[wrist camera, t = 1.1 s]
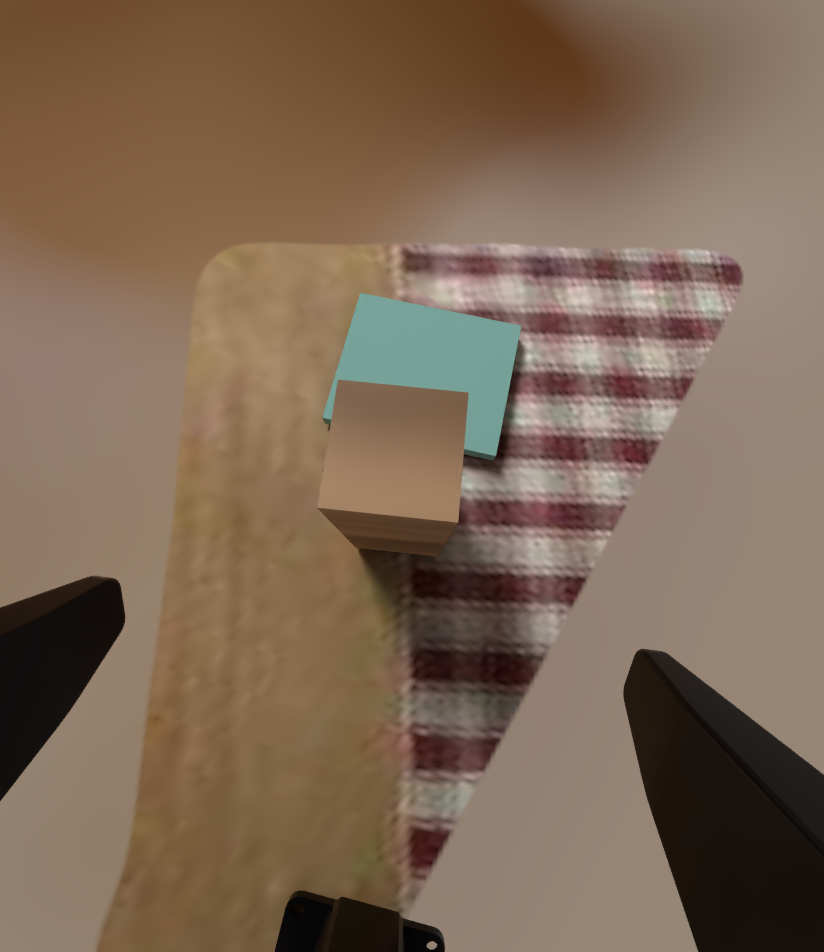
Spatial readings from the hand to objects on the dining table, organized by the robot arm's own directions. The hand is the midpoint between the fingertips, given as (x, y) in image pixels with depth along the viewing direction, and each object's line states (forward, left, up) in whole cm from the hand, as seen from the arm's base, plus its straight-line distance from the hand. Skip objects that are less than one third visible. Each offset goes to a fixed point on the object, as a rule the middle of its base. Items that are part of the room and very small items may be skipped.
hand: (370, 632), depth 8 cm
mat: (+12, +1, -14) cm, 19 cm away
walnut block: (+5, +1, -14) cm, 15 cm away
